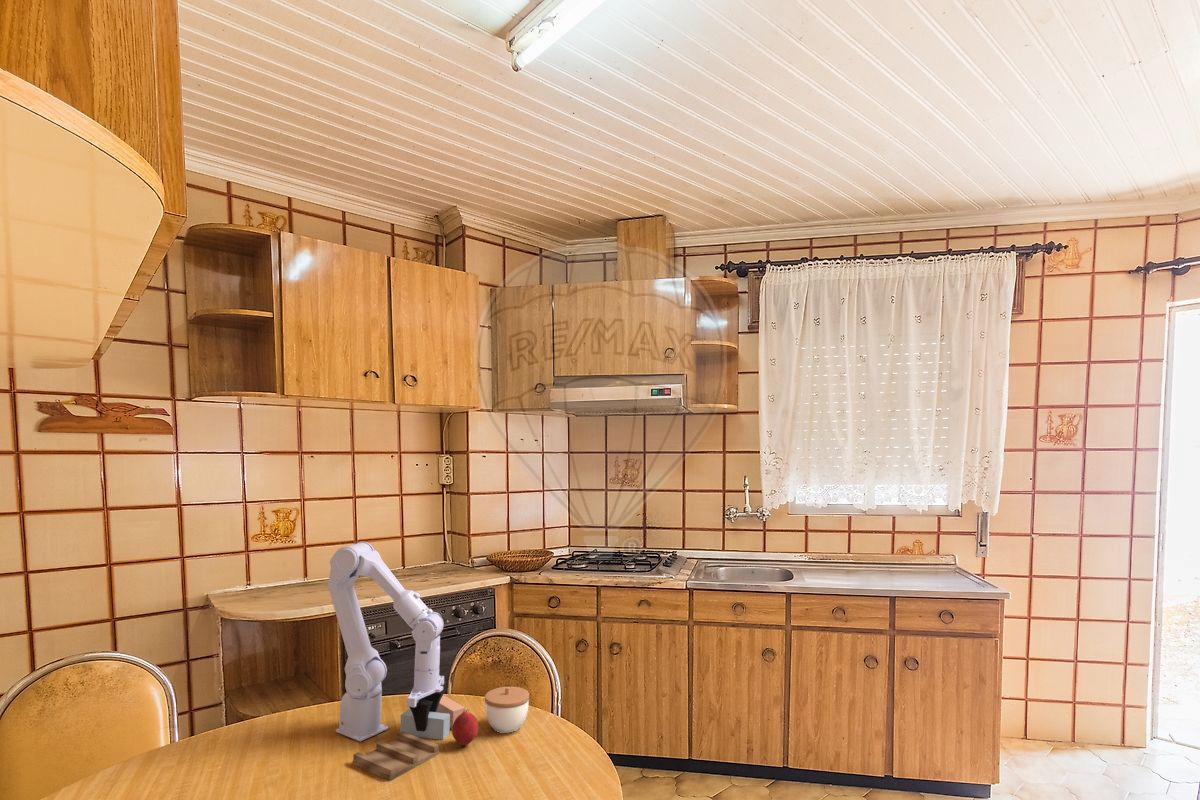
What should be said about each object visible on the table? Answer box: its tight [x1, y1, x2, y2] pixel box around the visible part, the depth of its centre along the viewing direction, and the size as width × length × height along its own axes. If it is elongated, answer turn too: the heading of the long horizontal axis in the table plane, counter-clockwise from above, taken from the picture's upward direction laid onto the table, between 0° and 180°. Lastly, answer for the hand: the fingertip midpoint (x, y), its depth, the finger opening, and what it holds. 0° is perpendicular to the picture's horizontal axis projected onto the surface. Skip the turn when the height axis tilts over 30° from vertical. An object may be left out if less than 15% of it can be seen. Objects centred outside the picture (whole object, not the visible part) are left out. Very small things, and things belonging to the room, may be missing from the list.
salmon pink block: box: [437, 694, 466, 730], centre depth 148 cm, size 11×3×4 cm, turn 44°
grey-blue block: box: [399, 708, 451, 740], centre depth 141 cm, size 11×3×4 cm, turn 78°
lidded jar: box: [484, 686, 530, 734], centre depth 145 cm, size 11×11×9 cm
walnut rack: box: [352, 732, 440, 782], centre depth 129 cm, size 12×13×2 cm
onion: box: [451, 707, 479, 747], centre depth 136 cm, size 6×6×8 cm
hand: (425, 726), depth 141 cm, fingers closed on grey-blue block, 3 cm apart
